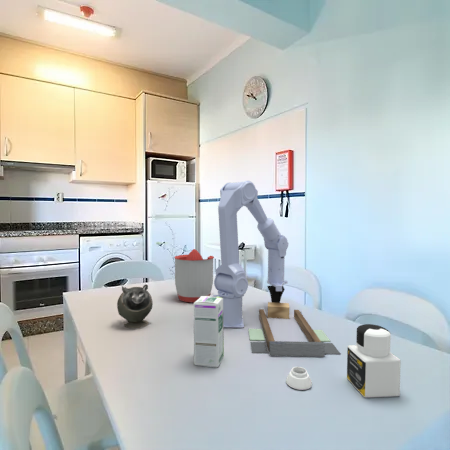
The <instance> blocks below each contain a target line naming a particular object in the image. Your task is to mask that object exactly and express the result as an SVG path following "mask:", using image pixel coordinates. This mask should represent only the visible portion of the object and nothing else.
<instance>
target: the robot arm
mask: <svg viewBox="0 0 450 450" xmlns="http://www.w3.org/2000/svg"><path fill="white" fill-rule="evenodd" d="M258 192H259V190H258V189H257V188H256V185H255V183H254V182H252V181H250V180H245V181H237V182H226V183H225V184H223V186H222V187H221V188H220V189H219V193H220V195H219V196H220V198H219V203H218V205H217V207H218V208H217V211H218V227H219V229H218V230H219V247H220V259H221V260H220V263H221V264H220V265H219V266H218V267H217V268H216V269H215V277H214V279H213V284H214V285H213V286H214V288H215V290H216V291H217V294H213V295H212V296H217V297H223V328H234V329H235V328H236V329H237V328H239V329H242V328H244V327H245V324H244V318H243V297H244V296H245V294H246V292H247V290H248V288H249V281H248V278H247V277H246V270H245V269H244V268H243V266H242V265H241V264H240V255H239V254H240V253H239V252H240V250H239V231H238V212H239V211H240V210H241V209H242V208H243V207H245V208H246V209H247V210H248V211H249V213H250V214H251V215H252V216H253V217H254V219H255V221H256V222H257V227H256V228H257V229H258V231H259V233H260V234H261V236H262V238H263V241H264V242H263V243H264V248H266V250H267V252H268V253H267V254H268V255H267V280H266V282H267V284H268V285H267V286H266V287H267V289H268V292H269V295H270V302H275V303H281V300H282V296H283V293H284V291H285V287H284V285H285V284H288V280H285V257H286V255H287V250H288V247H289V242H288V238H287V237H286V236H285V235H283V234H281V232H280V230H279V228H278V227H277V225H276V223H275V221H274V219H272V218H270V217H267V214H266V211H264V209H263V206H262V204H261V203H260V200H259V198H258Z"/></svg>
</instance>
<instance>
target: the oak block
mask: <svg viewBox="0 0 450 450" xmlns="http://www.w3.org/2000/svg"><path fill="white" fill-rule="evenodd" d="M267 319H279V320H280V319H281V320H282V319H283V320H290V303H289V302H280V303H275V302H271V301H268V302H267Z"/></svg>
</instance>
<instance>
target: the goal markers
mask: <svg viewBox="0 0 450 450" xmlns="http://www.w3.org/2000/svg"><path fill="white" fill-rule="evenodd" d="M247 331H248V337H249V341H250V342H266V339H265V336H264V332H263V329H262V328H248V330H247ZM313 331H314V332H315V334H316V335H317V336H318V338H319V339H320V341H321V342H323V343H332V342H331V340H330V338H329V337H328V336H327V335H326V333H325V332H324V330H323V329H313Z"/></svg>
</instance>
